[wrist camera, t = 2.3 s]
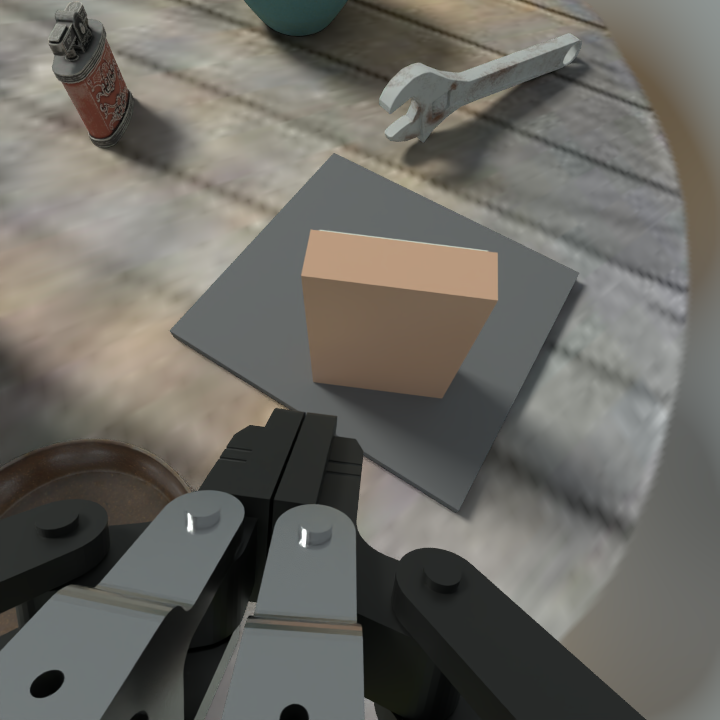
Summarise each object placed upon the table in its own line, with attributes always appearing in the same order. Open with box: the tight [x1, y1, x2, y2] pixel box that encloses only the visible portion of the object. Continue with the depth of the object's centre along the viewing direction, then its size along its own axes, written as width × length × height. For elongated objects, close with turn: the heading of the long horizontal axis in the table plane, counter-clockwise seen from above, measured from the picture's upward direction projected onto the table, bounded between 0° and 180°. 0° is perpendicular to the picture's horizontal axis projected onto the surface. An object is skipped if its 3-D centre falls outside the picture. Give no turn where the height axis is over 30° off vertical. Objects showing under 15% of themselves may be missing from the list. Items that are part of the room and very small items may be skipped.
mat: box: [170, 153, 579, 513], centre depth 41 cm, size 26×24×1 cm
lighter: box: [48, 1, 134, 147], centre depth 45 cm, size 8×3×10 cm, turn 177°
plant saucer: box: [0, 439, 192, 636], centre depth 30 cm, size 18×18×3 cm
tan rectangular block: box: [301, 230, 498, 398], centre depth 31 cm, size 3×10×14 cm, turn 83°
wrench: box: [379, 33, 582, 142], centre depth 50 cm, size 8×2×30 cm
